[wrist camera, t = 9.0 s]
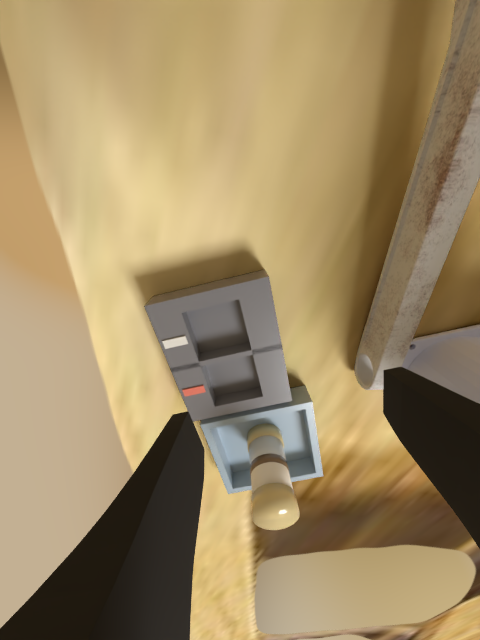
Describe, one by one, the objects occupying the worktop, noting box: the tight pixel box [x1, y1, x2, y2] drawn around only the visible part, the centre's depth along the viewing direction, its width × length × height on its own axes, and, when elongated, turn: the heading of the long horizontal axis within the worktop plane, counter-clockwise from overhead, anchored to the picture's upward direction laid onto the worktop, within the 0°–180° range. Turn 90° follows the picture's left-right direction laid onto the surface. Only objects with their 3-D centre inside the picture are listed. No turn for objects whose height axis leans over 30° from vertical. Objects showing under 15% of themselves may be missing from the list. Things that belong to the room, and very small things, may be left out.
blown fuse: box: [247, 423, 300, 530], centre depth 20 cm, size 3×3×6 cm
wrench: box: [354, 0, 480, 390], centre depth 12 cm, size 8×2×30 cm
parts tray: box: [200, 385, 323, 494], centre depth 22 cm, size 9×9×2 cm
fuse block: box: [144, 270, 292, 421], centre depth 18 cm, size 8×10×2 cm
